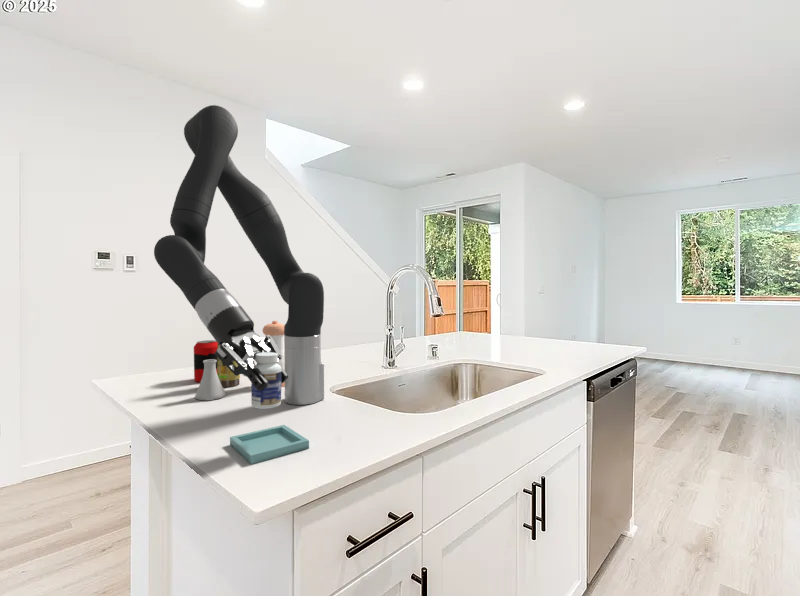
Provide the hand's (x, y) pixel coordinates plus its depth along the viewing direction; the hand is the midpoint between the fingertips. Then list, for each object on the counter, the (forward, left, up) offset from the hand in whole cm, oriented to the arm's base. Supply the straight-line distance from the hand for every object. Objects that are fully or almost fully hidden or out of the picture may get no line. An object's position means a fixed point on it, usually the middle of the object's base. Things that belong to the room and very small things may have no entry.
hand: (274, 383), depth 80 cm
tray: (+1, -1, -12) cm, 12 cm away
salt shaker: (-19, -45, -12) cm, 51 cm away
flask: (0, -43, -12) cm, 45 cm away
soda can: (-5, -64, -12) cm, 66 cm away
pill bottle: (+1, -2, -4) cm, 5 cm away
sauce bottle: (-8, -53, -12) cm, 55 cm away
